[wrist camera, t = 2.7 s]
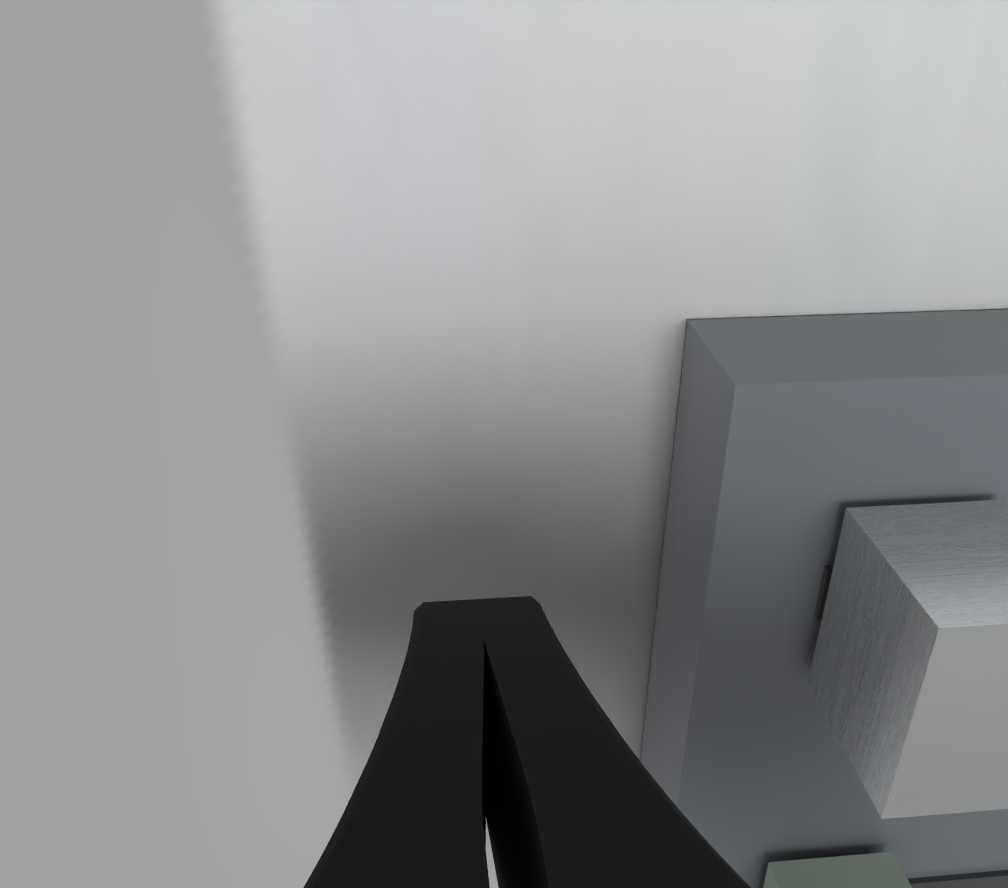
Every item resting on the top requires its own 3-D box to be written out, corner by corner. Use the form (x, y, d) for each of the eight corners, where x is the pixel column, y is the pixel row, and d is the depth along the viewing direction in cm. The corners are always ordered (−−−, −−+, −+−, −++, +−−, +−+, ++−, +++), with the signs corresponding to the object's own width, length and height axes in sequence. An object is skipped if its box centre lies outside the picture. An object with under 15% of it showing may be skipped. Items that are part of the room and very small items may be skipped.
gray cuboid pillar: (846, 507, 11) (939, 628, 9) (1004, 499, 11) (1128, 616, 9) (807, 683, 12) (882, 818, 11) (949, 673, 13) (1046, 805, 11)
